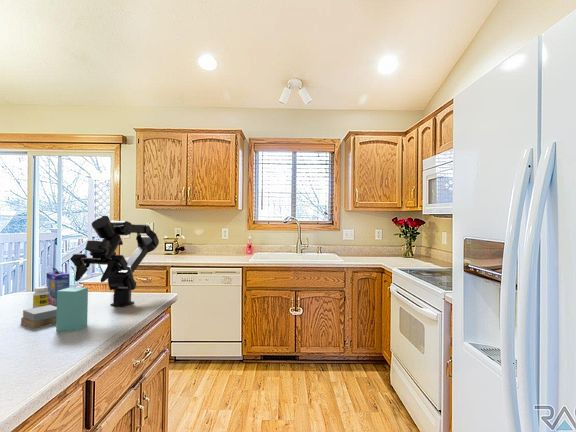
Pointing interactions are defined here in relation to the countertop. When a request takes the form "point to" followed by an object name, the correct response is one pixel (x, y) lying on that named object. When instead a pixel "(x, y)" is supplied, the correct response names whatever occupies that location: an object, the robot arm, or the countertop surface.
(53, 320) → the tower base
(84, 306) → the column
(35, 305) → the supplement bottle
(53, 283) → the ink cartridge box
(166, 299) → the countertop surface
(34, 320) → the tower top
